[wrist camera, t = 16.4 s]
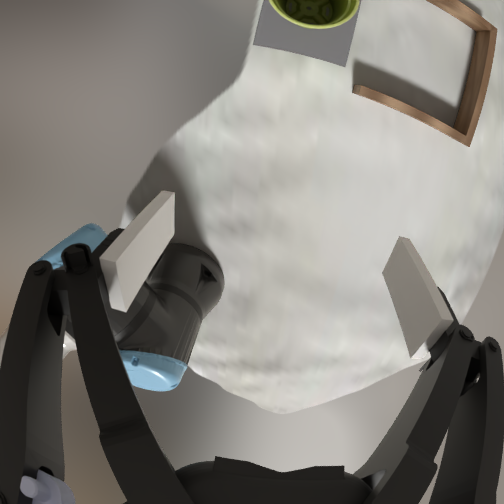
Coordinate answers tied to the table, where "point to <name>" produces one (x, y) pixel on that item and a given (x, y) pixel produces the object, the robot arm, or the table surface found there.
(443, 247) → the table surface
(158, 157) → the table surface
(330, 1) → the plant pot
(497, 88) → the table surface
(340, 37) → the charcoal mat
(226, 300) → the table surface
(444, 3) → the walnut bay
